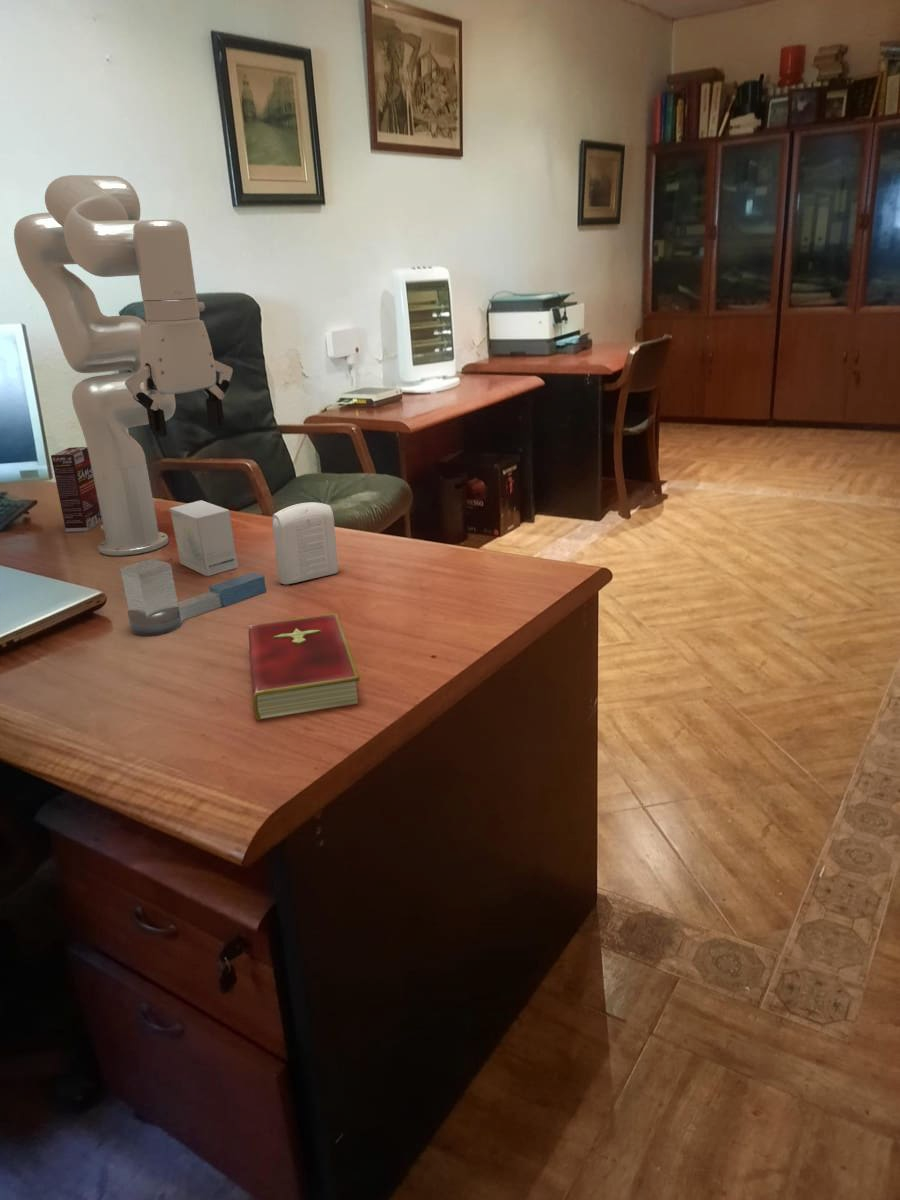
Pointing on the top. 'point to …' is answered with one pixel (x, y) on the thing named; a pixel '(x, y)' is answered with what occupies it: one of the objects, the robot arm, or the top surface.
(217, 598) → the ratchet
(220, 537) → the skincare box
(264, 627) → the hardcover book
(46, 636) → the top surface
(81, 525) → the supplement box
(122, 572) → the white cube
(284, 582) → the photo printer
